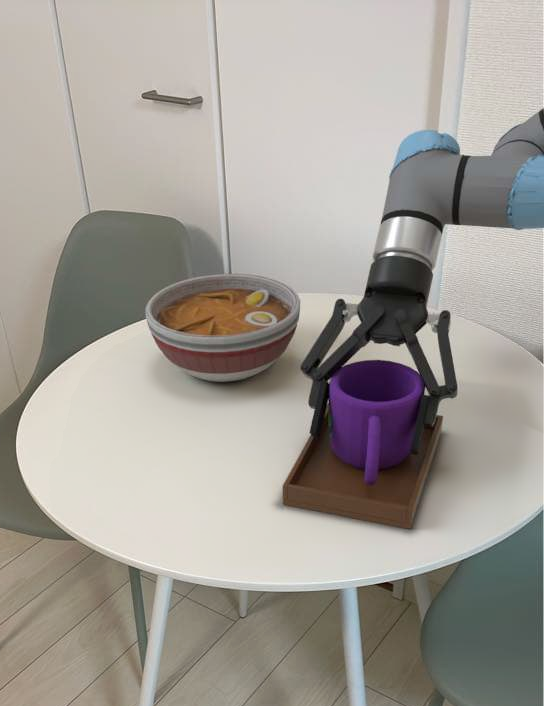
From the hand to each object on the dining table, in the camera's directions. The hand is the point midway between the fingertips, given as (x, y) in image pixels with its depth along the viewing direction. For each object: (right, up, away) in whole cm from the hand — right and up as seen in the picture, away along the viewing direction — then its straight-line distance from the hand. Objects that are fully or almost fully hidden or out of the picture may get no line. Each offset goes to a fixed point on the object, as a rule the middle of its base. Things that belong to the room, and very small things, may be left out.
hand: (363, 443), depth 89 cm
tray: (+1, -2, +5) cm, 6 cm away
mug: (+2, -2, +5) cm, 5 cm away
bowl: (-17, +16, +28) cm, 36 cm away
